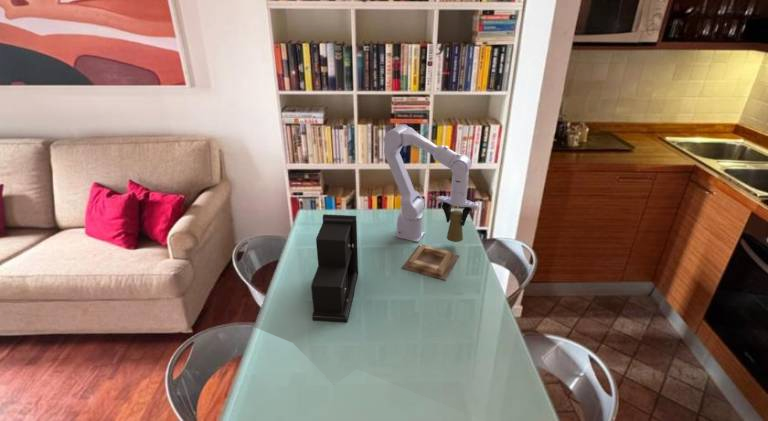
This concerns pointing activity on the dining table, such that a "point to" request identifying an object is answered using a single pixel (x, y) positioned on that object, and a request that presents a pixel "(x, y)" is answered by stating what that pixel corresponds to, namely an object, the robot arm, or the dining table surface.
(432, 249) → the socket block
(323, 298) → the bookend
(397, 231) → the robot arm
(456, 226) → the cork
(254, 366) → the dining table surface
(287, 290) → the dining table surface
